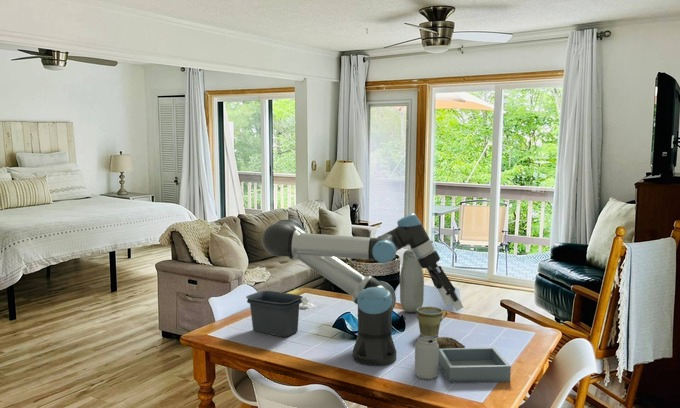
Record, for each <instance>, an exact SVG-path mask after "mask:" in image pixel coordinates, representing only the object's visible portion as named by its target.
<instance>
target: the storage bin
mask: <svg viewBox="0 0 680 408" xmlns="http://www.w3.org/2000/svg"><path fill="white" fill-rule="evenodd" d="M303 297H304V296H302V295H299V294H293V293H287V292H286V293H285V292H280V291H273V290H260V291H257V292H255V293H251V294H249V295H246V296H245V298H246V299H247V301H246V302H247V304H249V307H250V313H251V314H250V316H251V324H252V330H253V331H254V332H256V333H262V334H268V335H273V336H277V337H283V338H287V337H289V336H291V335H293V334H294V333H297V332H298V330H299V315H300V308H299V307H300V305H299V304H301V305H302V298H303Z"/></svg>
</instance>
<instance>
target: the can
mask: <svg viewBox="0 0 680 408" xmlns="http://www.w3.org/2000/svg"><path fill="white" fill-rule="evenodd" d="M416 340H417V341H416V342H415V343H414V374H415V375H416V376H417V377H418V378H419V379H422V380H434V379H435V378H436V377H438V376H439V374H440V373H439V368H440V365H439V344H438V343H437V340H436V337H435V338H433V337H423V336H420V337H418V338H417V339H416Z"/></svg>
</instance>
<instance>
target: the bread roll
mask: <svg viewBox="0 0 680 408" xmlns="http://www.w3.org/2000/svg"><path fill="white" fill-rule="evenodd" d="M435 339H436V340H437V343H438V344H439V349H447V348H466V346H465V345H464V344H462V343H461V342H459V341H458V340H456V338H453V337H448V336H443V337H438V336H437V337H435Z"/></svg>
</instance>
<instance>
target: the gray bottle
mask: <svg viewBox="0 0 680 408" xmlns="http://www.w3.org/2000/svg"><path fill="white" fill-rule="evenodd" d="M424 290H425V276H424V271H423V268H422V267H421V266H420V264H419V262H418V258H416V257H415V255H414V253H413V252H412V250H411V248H408V249H406V250H405V251H404V253H403V254H402V266H401V269H400V273H399V302H400V305H401V308H402V309H403V311H405V312H407V313H415V312H416V313H417V309H418V308H420V307H423V304H424V298H425V297H424V295H425V294H424Z"/></svg>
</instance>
